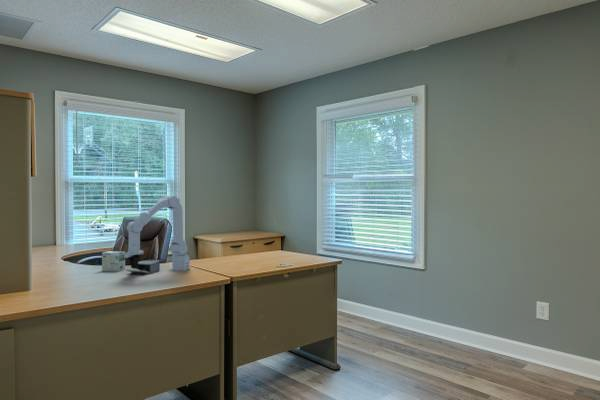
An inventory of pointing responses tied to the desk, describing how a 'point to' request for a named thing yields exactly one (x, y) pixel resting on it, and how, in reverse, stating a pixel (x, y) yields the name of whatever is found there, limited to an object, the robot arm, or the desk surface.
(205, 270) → the desk surface
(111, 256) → the light bulb box
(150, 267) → the carton
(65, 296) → the desk surface
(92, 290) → the desk surface
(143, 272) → the carton flap
